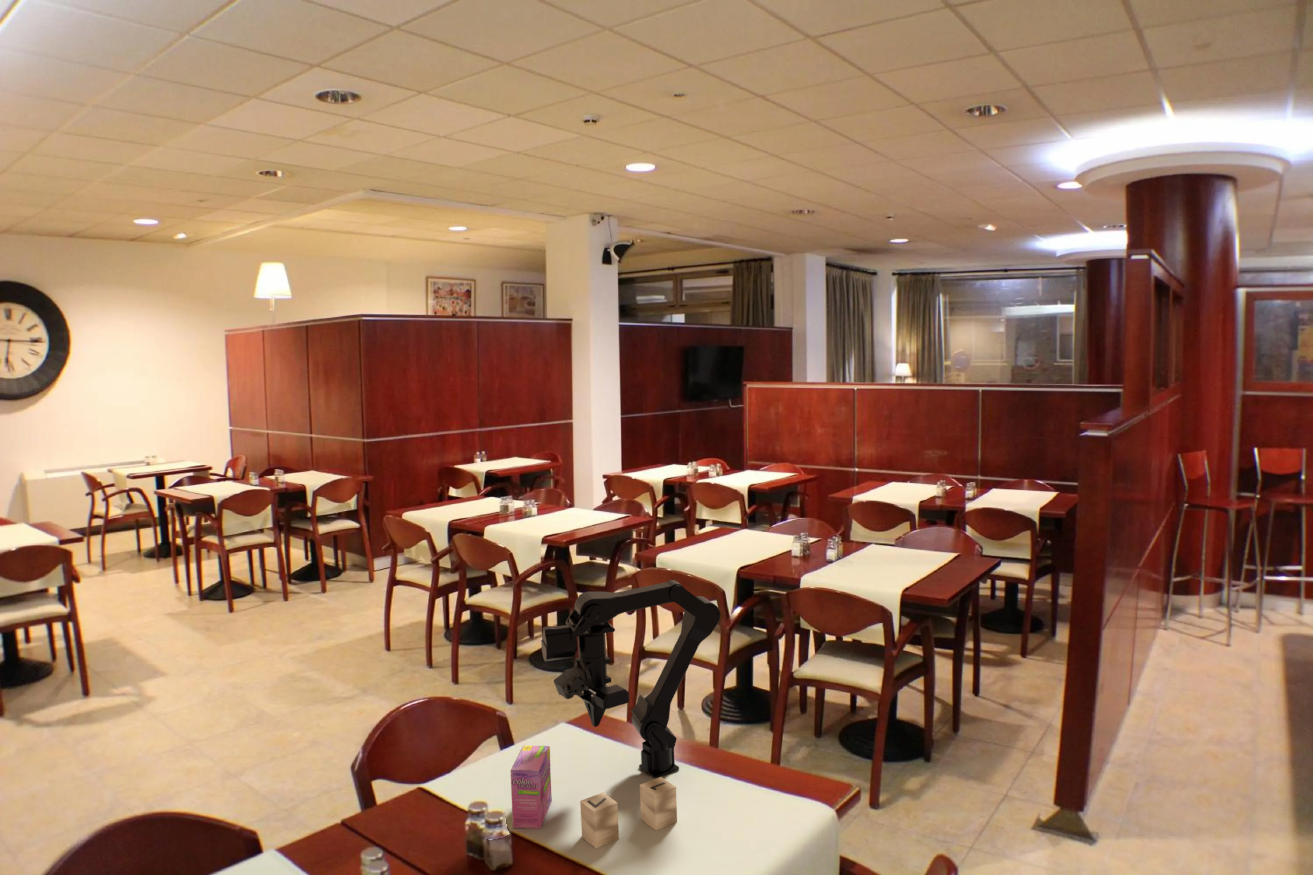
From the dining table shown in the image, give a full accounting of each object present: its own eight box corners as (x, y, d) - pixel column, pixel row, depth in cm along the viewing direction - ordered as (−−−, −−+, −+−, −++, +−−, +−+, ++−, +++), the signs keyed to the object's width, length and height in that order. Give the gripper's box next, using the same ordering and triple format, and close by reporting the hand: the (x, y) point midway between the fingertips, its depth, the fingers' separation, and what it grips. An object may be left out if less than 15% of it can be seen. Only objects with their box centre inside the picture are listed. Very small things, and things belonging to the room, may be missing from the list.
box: (541, 829, 164) (538, 769, 163) (512, 828, 164) (509, 769, 163) (552, 801, 174) (550, 745, 173) (525, 800, 175) (522, 744, 174)
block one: (662, 810, 169) (660, 776, 168) (677, 821, 165) (675, 785, 164) (641, 819, 166) (639, 783, 165) (655, 830, 162) (654, 794, 161)
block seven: (604, 827, 164) (603, 791, 163) (618, 838, 160) (617, 801, 159) (582, 836, 161) (580, 800, 160) (595, 848, 157) (594, 810, 156)
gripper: (537, 650, 182) (540, 721, 184) (581, 675, 167) (584, 752, 169) (582, 639, 189) (585, 708, 190) (629, 662, 174) (632, 736, 175)
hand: (595, 725), depth 181 cm, fingers closed
